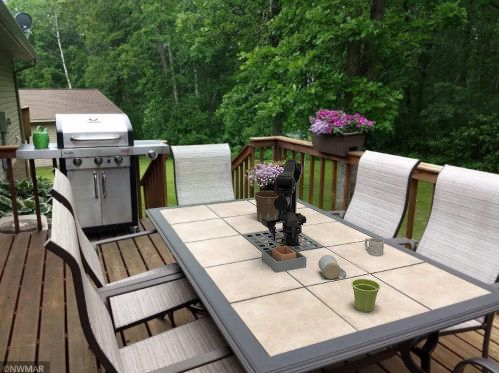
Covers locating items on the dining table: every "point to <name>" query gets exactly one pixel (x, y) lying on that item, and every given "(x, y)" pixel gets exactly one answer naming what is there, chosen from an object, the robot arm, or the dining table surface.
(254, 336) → the dining table surface
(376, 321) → the dining table surface
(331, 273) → the ceramic mug
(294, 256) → the small crate
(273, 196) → the plant pot
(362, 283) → the plant pot
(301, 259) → the big crate
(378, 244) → the mug
